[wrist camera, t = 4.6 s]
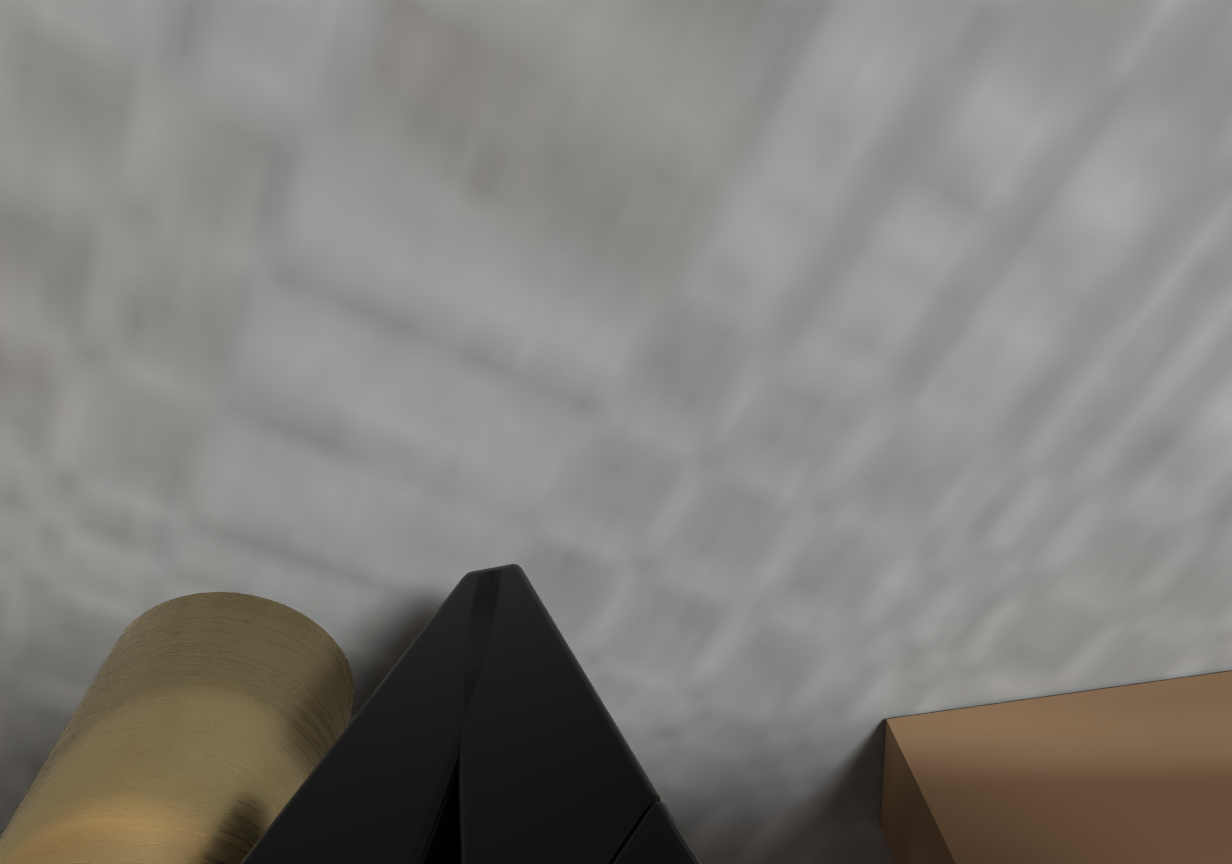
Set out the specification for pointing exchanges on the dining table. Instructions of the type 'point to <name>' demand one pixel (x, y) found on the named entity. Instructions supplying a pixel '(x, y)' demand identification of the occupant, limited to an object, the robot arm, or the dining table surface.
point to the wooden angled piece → (1066, 778)
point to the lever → (187, 738)
